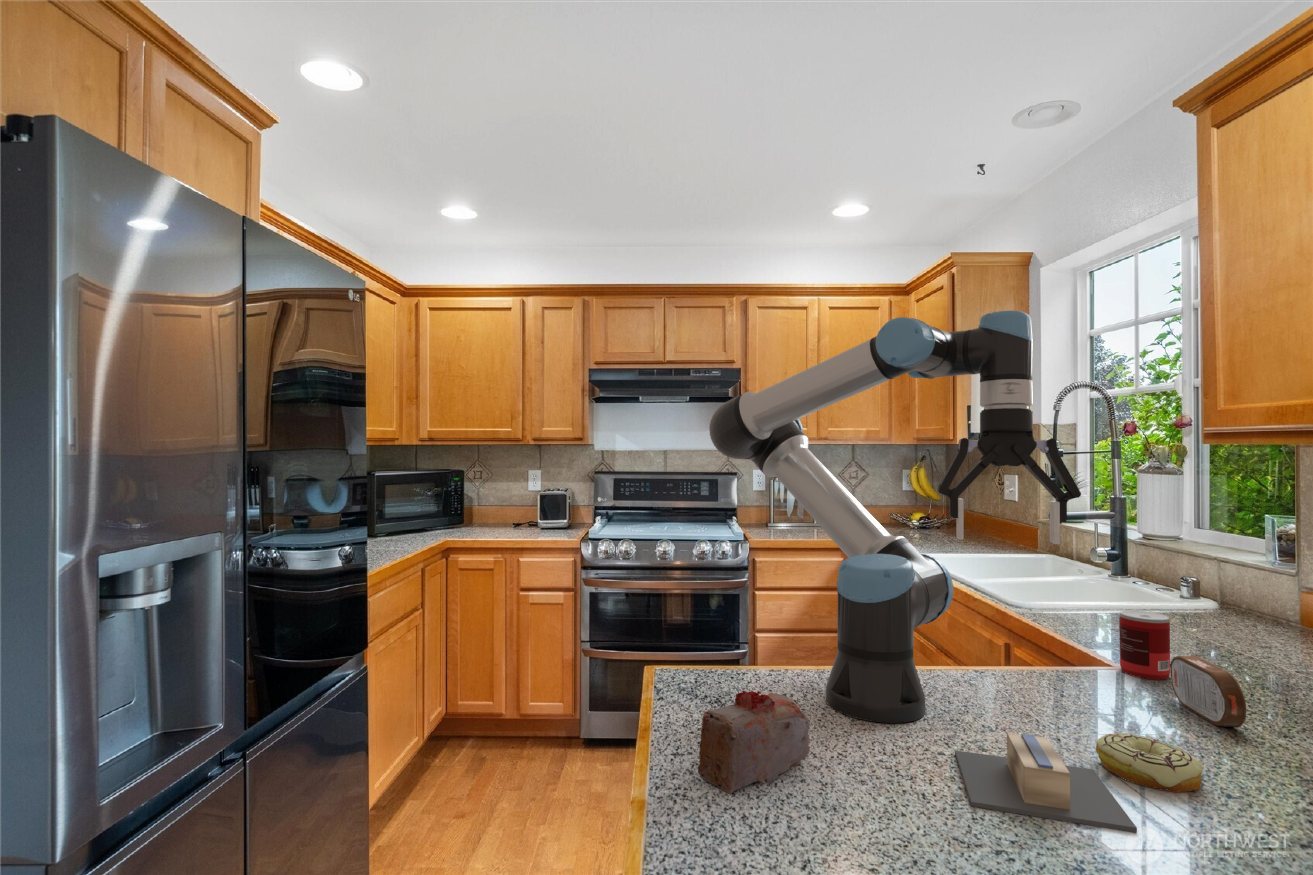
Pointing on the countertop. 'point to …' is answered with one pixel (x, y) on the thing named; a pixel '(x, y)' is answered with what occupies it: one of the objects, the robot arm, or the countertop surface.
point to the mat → (999, 792)
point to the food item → (752, 740)
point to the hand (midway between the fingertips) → (1006, 541)
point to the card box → (1038, 771)
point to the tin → (1208, 691)
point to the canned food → (1144, 644)
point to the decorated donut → (1149, 762)
